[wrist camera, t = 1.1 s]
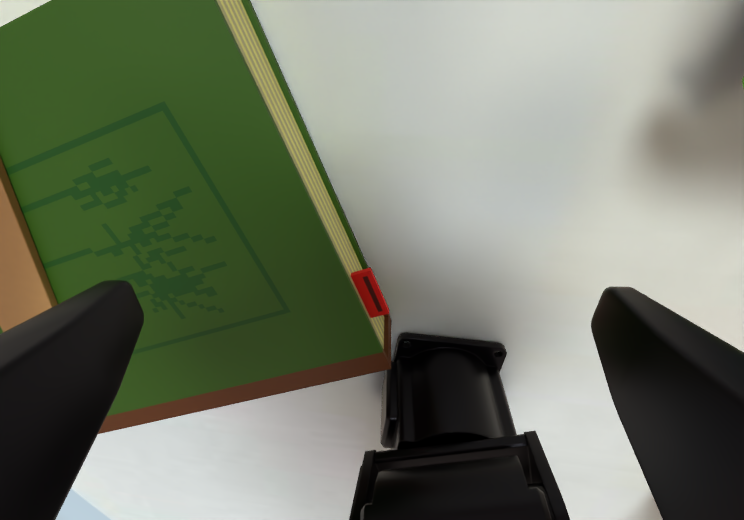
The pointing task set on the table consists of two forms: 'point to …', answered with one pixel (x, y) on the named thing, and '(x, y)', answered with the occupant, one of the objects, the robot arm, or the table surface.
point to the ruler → (19, 264)
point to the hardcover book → (185, 200)
